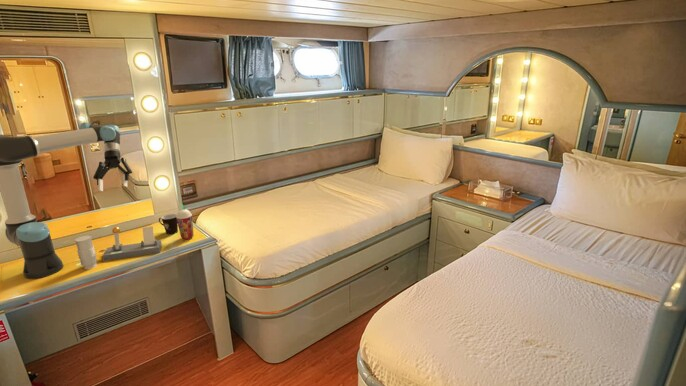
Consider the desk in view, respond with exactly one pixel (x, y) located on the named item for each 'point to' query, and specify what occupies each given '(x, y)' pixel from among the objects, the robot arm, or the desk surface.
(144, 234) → the white flat upright panel
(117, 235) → the steel toggle
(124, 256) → the switch console
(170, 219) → the coffee mug
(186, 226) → the smoothie
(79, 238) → the candle
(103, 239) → the desk surface
